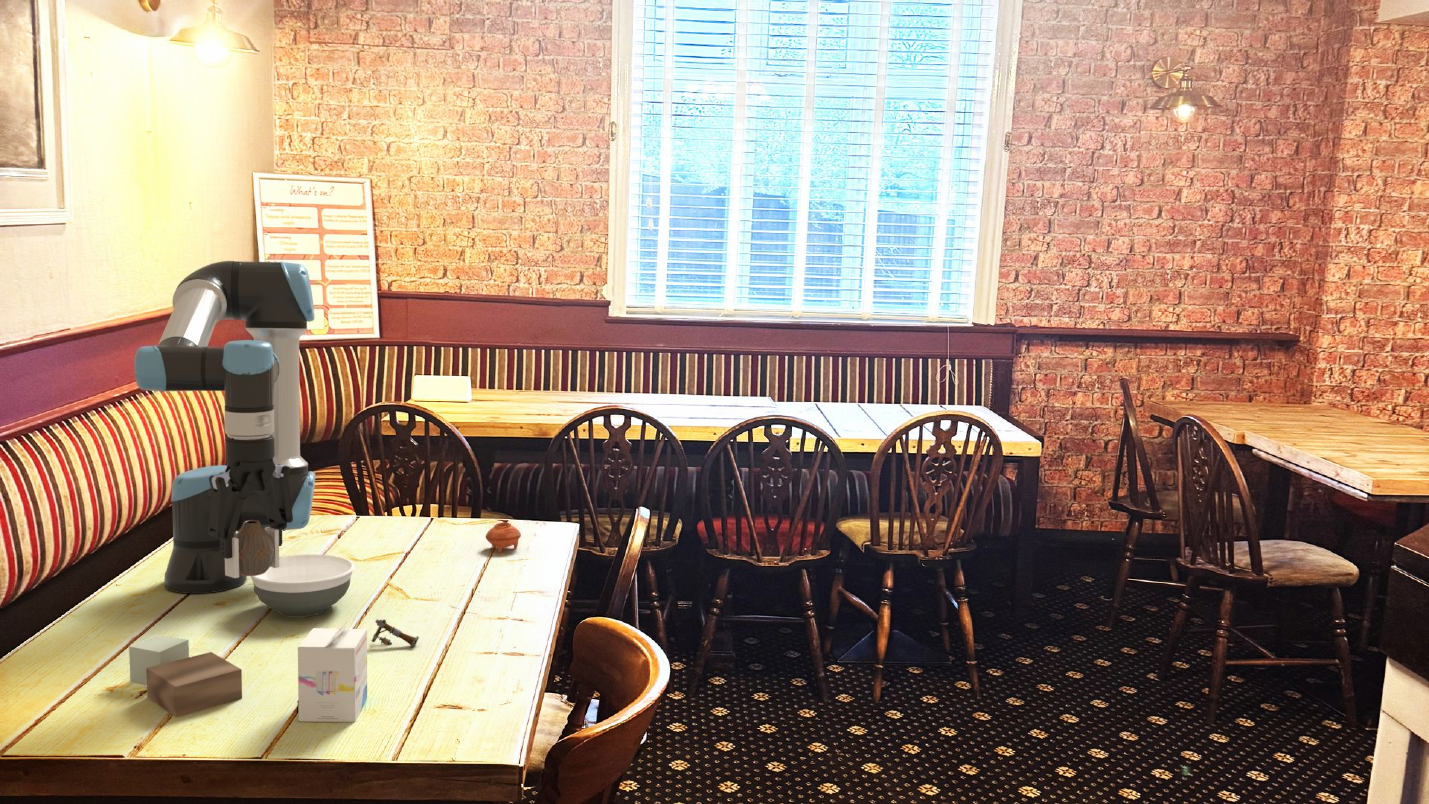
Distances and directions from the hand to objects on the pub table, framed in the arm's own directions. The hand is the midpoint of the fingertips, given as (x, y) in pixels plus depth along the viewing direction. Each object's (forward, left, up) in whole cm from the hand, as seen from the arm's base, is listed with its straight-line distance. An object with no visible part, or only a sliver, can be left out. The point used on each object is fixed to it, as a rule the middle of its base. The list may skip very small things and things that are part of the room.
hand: (252, 570), depth 190 cm
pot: (-15, +75, -15) cm, 78 cm away
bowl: (-14, +20, -15) cm, 29 cm away
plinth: (+8, -16, -15) cm, 23 cm away
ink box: (+28, -6, -15) cm, 32 cm away
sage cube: (-3, -15, -15) cm, 21 cm away
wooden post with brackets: (+14, +18, -15) cm, 28 cm away
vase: (0, 0, -1) cm, 1 cm away
